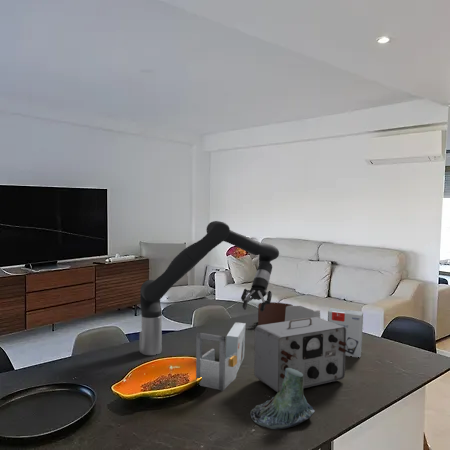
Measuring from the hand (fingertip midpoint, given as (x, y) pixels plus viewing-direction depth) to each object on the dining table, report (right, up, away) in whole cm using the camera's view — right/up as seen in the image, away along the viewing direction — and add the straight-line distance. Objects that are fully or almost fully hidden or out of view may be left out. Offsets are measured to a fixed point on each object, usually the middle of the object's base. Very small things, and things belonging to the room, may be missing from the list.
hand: (252, 309), depth 200 cm
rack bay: (-16, -21, -32) cm, 42 cm away
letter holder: (+16, -18, +45) cm, 51 cm away
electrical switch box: (+26, -20, +14) cm, 36 cm away
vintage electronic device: (+17, -22, -33) cm, 43 cm away
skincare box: (-8, -21, -16) cm, 28 cm away
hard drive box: (+43, -21, 0) cm, 48 cm away
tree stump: (+6, -23, -59) cm, 64 cm away
